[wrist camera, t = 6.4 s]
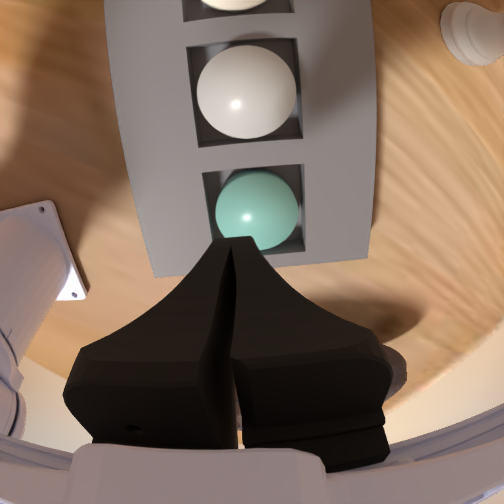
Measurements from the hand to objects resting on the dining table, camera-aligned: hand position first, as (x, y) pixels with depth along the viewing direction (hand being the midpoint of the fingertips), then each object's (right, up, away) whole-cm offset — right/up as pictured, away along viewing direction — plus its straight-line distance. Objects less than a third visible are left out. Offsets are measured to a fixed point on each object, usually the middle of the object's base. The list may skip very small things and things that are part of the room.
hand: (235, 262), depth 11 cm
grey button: (0, +8, +3) cm, 9 cm away
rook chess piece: (+14, +14, +2) cm, 20 cm away
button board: (0, +9, +4) cm, 10 cm away
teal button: (+1, +3, +7) cm, 8 cm away
